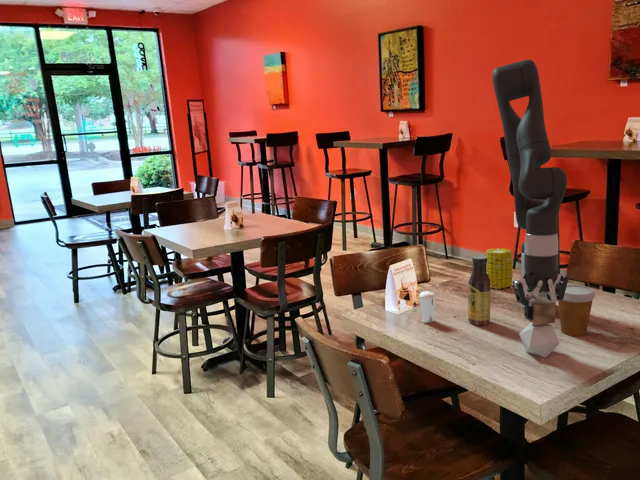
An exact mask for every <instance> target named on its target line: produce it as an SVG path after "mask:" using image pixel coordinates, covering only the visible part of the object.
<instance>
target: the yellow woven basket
mask: <svg viewBox="0 0 640 480" xmlns="http://www.w3.org/2000/svg"><path fill="white" fill-rule="evenodd" d="M485 256H486V257H487V263H486V269H487V271H486V273H487V274H488V276H489V278H490V289H494V290H498V289H499V290H501V289H506V288H508V287H509V288H511V287H512V286H513V283H512V282H513V278H514V277H513V276H514V275H513V274H514V273H513V268H514V267H513V251H512V250H511V249H508V248H499V247H498V248H488V249H487V250H486V251H485Z"/></svg>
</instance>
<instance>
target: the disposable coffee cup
mask: <svg viewBox="0 0 640 480" xmlns="http://www.w3.org/2000/svg"><path fill="white" fill-rule="evenodd" d="M595 296H596V294H595V293H594V290H593V288H591V287H589V286H585V285H579V284H567V287H566V291H565V295H564V298H563V299H562V300H558V301H557V304H558V305H557V306H558V313H559V323H560V331H561V333H563V334H564V335H567V336H570V337H571V336H572V337H582V336H585V335H587V333H588V327H589V322H590V316H591V310H592V306H593V302H594V299H595Z"/></svg>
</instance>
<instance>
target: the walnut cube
mask: <svg viewBox="0 0 640 480" xmlns="http://www.w3.org/2000/svg"><path fill="white" fill-rule="evenodd" d="M556 305H557V302H556V303H555V302H553V301H551V300H549V299H547V298H545V297H539V298H535V300H534V303H533V305H532V306H533V320H531V321H530V320H528V319H527V318H526V317H525V316H524V319H525V320H527V321H529V322H530V323H531V322H532V323H534V324H535V325H541V324H553V323H554V324H555V323H556V313H555V311H556V310H555V306H556ZM556 307H557V306H556Z"/></svg>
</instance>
